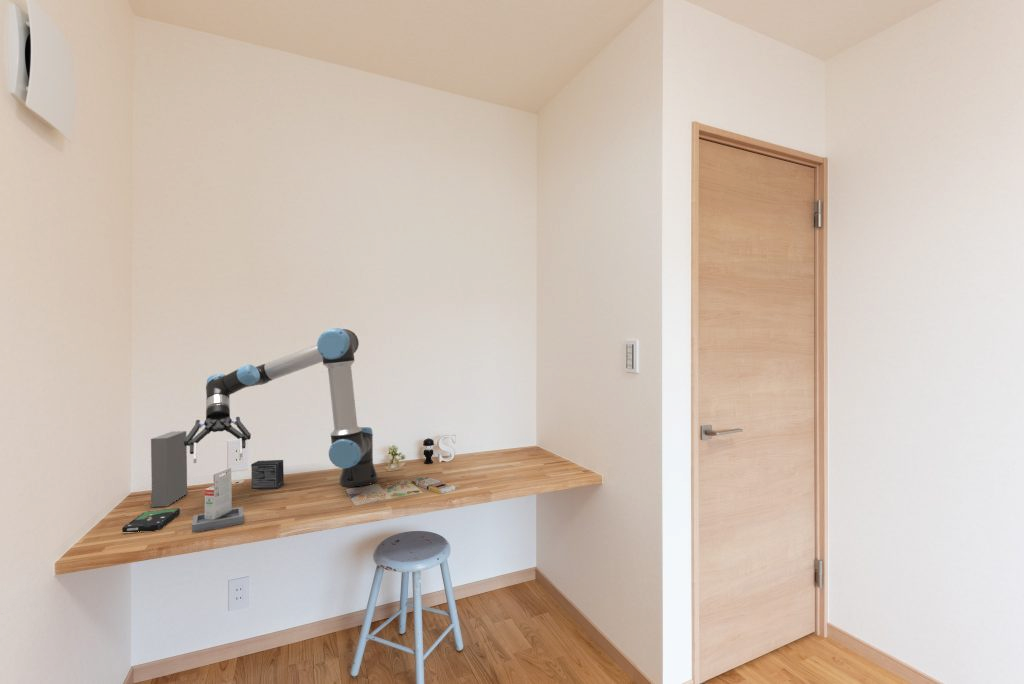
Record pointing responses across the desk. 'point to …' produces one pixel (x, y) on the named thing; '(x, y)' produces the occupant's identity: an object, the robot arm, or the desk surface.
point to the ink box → (219, 496)
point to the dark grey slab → (168, 468)
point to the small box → (267, 474)
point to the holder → (217, 520)
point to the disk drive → (151, 520)
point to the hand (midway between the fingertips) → (218, 458)
